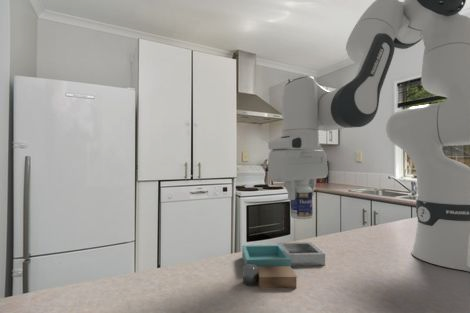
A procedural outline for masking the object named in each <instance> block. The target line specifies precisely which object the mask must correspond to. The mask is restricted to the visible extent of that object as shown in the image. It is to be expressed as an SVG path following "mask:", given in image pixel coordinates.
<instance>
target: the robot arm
mask: <svg viewBox="0 0 470 313" xmlns="http://www.w3.org/2000/svg"><path fill="white" fill-rule="evenodd" d="M466 3H467V1H466V0H403V1H400V0H374V1H373V2H372V3H371V4H370V5H369V6H368V7H367V9H366V10H365V11H364V12H363V13H362V14H361V16H360V18H359V19H358V21H357V22H356V24H355V25H354V26H353V28H352V30H351V32H350V34H349V36H348V39H347V42H346V46H345V50H346V54H347V55H348V58H349V59H350V60H351V61H353V63H355V64H356V65H359V67H358V69H357V71H356V73H355V76H354V77H353V78H352V79H351V80H350V81H349V82H348V83H346V84H345V85H342V86H340V87H338V88H336V89H334V90H327V89H325V88H324V87H322V86H321V85H320V84H319V83H317V81H316V79H315V78H314V76H302V77H301V76H300V77H297V78H294V79H292V80H290V81H289V82H287V83H286V84H285V85H284V87H283V90H282V96H281V97H282V99H281V116H282V119H283V120H282V121H283V126H282V130H281V133H282V134H281V136H280V135H279V136H278V137H276V138H273V139H271V140H269V141H268V142H267V143H268V145H267V147H268V149H269V150H270V152H269V154H268V161H267V162H268V164H267V168H268V169H267V170H268V178H269V180H270V181H271V182H273V183H274V182H275V183H284V187H285V190H286V192H287V199H288V200H289V201H290V200H296V199H297V198H298V196H297V195H298V192H295V189H294V185H295V181H298V180H304V179H309V184H308V186H309V187H311V188H312V198H313V197H314V195H315V192H314V190H315V188H316V185H317V179H323V178H324V179H325V178H327V176H328V174H329V169H328V160H327V153H326V152H325V148H323V146H322V144H320V142H319V136H320V135H319V131H323V132H328V131H334V130H335V131H337V130H342V129H343V130H344V129H348V128H349V129H351V128H352V129H353V128H362V127H365V126H367V125H368V124H370V123H371V122H372V121H373V120H374V119H375V117H376V115H377V112H378V110H379V103H380V95H381V91H382V88H383V85H384V82H385V79H386V77H387V74H388V71H389V69H390V66H391V63H392V60H393V57H394V55H395V50H396V49H400V50H407V49H409V48H411V47H413V46H415V45H417V44H418V43H420V42H421V41H423V44H424V45H423V46H424V50H423V57H422V66H421V67H422V68H421V76H420V84H421V86H422V88H423V89H424V90H425V91H426V92H428V93H429V94H432V95H435V96H438V97H443V98H446V100H445V101H442V102H436V103H429V104H421V105H418V106H417V105H416V106H410V107H407V108H404V109H401V110H398V111H395V112H393V113H392V114H391V115H390V116H389V118H388V120H387V123H386V126H385V131H386V136H387V137H388V139H389V141H390V142H391V143H392V144H393V145H395V146H396V147H398V148H400V149H401V150H402V151H403V152H404V153H405V154H406V155H407V156H408V157H409V159H410V160H411V163H412V164H413V166H414V169H415V173H416V175H415V176H416V183H417V199H416V200H415V204H416V205H415V212H416V217H417V224H416V230H415V231H416V232H415V238H414V242H413V247H412V249H411V251H410V253H411V255H412V256H414V257H416V258H417V259H419V260H421V261H424V262H427V263H430V264H433V265H435V266H441V267H444V268H449V269H454V270H459V271H460V270H461V271H466V272H469V273H470V166H468V165H467V164H464V163H463V162H460V161H457V160H455V159H452V158H450V157H447V156H446V155H445V154H444V150H443V147H448V146H451V147H452V146H453V147H454V146H470V17H469V16H466V15H463V14H460V13H459V12H461V11H462V10H463V8H464V6H465V5H466Z"/></svg>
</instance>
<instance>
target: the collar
mask: <svg viewBox="0 0 470 313" xmlns="http://www.w3.org/2000/svg"><path fill="white" fill-rule="evenodd" d="M277 245H281V247H282V248H283V249H284V251H285V252H286V253H287V254H288V256H289V257H290V258H291V267H297V266H299V267H300V266H302V267H303V266H326V254H325V253H324V252H323V250H321V249H320V248H318V247H317V246H316V245H315V244H313V242H311V241H306V242H305V241H304V242H302V241H301V242H297V241H296V242H277Z"/></svg>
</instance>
